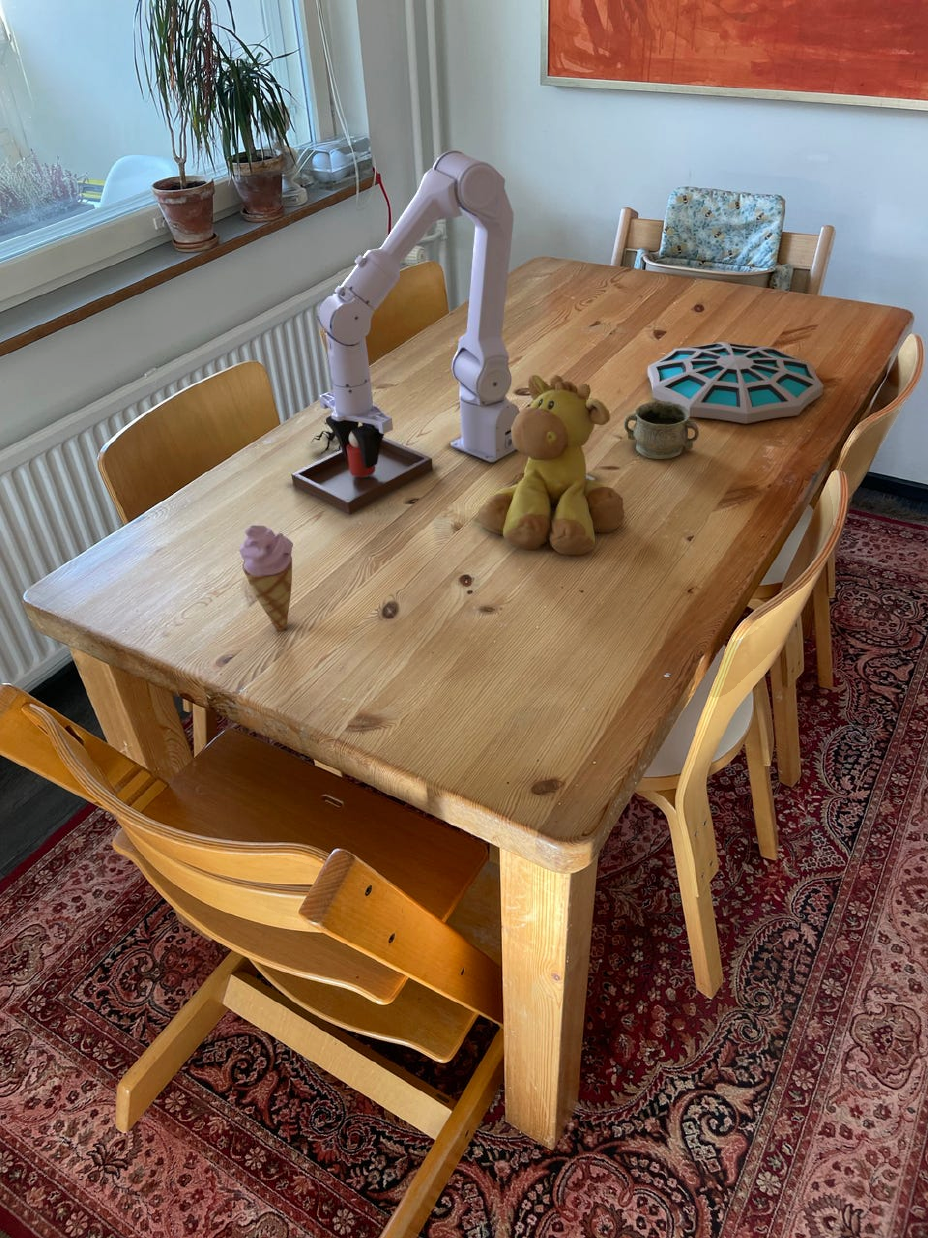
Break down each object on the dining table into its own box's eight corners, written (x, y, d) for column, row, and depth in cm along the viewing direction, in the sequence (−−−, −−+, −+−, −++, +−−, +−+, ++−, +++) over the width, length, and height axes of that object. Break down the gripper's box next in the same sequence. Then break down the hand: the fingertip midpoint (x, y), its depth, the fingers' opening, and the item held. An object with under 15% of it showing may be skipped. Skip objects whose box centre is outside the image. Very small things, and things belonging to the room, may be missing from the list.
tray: (433, 469, 150) (432, 457, 148) (349, 514, 140) (347, 502, 139) (375, 444, 157) (374, 433, 156) (293, 485, 148) (291, 473, 146)
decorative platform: (627, 411, 163) (629, 383, 160) (664, 347, 184) (666, 322, 181) (812, 435, 153) (818, 406, 150) (829, 364, 174) (834, 338, 171)
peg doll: (380, 469, 148) (375, 428, 143) (361, 479, 146) (356, 437, 141) (363, 462, 150) (358, 420, 146) (344, 471, 148) (338, 430, 143)
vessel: (616, 455, 151) (618, 419, 147) (629, 431, 157) (632, 395, 153) (690, 466, 147) (695, 429, 143) (701, 440, 153) (706, 405, 149)
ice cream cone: (260, 612, 122) (237, 513, 113) (307, 607, 122) (289, 509, 113) (255, 644, 117) (231, 543, 108) (305, 640, 117) (286, 539, 108)
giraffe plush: (462, 544, 132) (455, 419, 121) (517, 465, 149) (515, 349, 138) (603, 570, 126) (610, 441, 114) (643, 484, 143) (654, 364, 131)
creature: (307, 462, 156) (351, 455, 153) (296, 433, 153) (340, 426, 150) (322, 440, 162) (364, 433, 159) (311, 412, 159) (354, 404, 156)
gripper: (299, 375, 140) (312, 456, 149) (363, 401, 132) (373, 485, 141) (335, 360, 144) (345, 440, 153) (399, 384, 136) (407, 467, 144)
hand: (361, 460), depth 147 cm, fingers closed on peg doll, 4 cm apart
